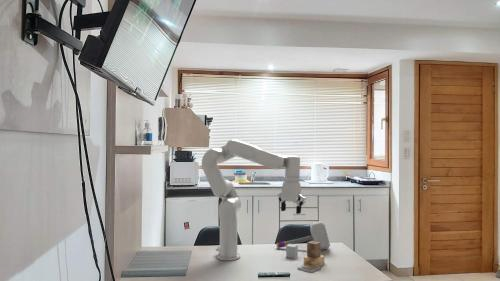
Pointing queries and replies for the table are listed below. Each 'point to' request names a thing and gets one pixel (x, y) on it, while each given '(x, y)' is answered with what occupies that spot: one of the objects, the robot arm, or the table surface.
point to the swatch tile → (309, 268)
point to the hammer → (312, 236)
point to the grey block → (292, 250)
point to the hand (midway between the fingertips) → (290, 212)
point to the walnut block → (313, 249)
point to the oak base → (314, 261)
